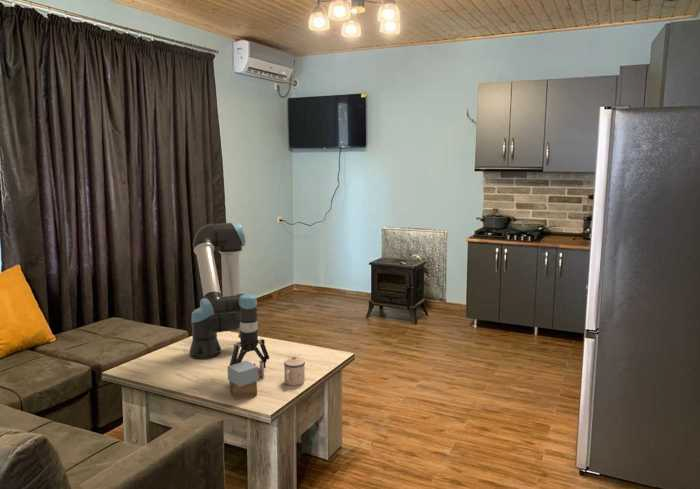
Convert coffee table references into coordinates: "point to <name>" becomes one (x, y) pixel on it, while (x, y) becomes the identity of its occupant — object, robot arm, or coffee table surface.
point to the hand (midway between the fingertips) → (250, 378)
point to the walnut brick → (243, 390)
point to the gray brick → (243, 373)
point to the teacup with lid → (294, 371)
